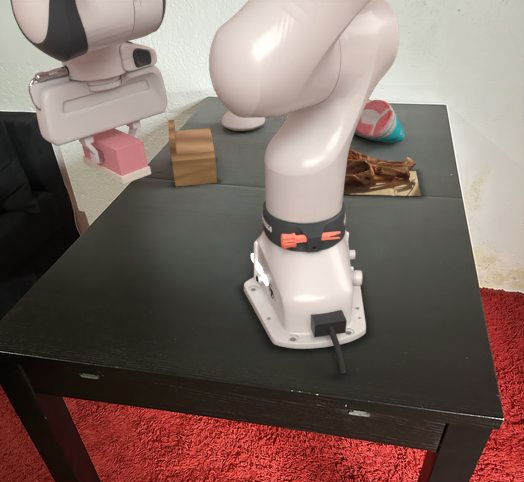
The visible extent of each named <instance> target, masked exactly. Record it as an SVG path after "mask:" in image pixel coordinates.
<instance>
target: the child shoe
mask: <svg viewBox="0 0 524 482" xmlns="http://www.w3.org/2000/svg"><path fill="white" fill-rule="evenodd" d="M93 140H94V142H93V143H91V144H92V146H93V147H94V148H95V149H96V148H97V149H99V150H101V151H103V154H104V158H105V162H102V163H100V164H97V165H96V164H95V163H93V162H92V160H91V156H90V153H89V151H88V150H87V149H86V148H85V147H84V146H83V145H82V144H81V148H82V151H83V156H82V159H83V163H84V164H85V165H87V166H88V167H90V168H92V169H94V170H96V171H97V172H99V173H101V174H103V175H105V176H106V177H109V178H110V179H112V180H114V181H116V182H118V183H120V184H122V185H126V184H129V183H131V182H134V181H136V180H137V181H138V180H139V179H142V178H144V177H147V176H149V175H152V171H151V166H150V165H148V160H147V156H146V155H147V154H146V149H145V144H144V141H143V140H142V139H140V138H139V137H138V138H135V137H133V136H131V135H128V133H126V132H125V131H124V132H123V131H121V130H119V129H118V128H114V129H111V130H107V131H104V132H101V133H98V134H95V135H93Z"/></svg>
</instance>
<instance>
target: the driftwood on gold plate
mask: <svg viewBox="0 0 524 482" xmlns="http://www.w3.org/2000/svg"><path fill="white" fill-rule="evenodd" d="M415 166H417V163H416V162H415V160H414V159H413V158H410V157H409V156H406V161H404V160H401V161H399V160H394V161H393V160H383V159H379V158H375V157H371V156H369V155H366V154H362V152H359V151H356V150H354V149H352V148H350V149H349V153H348V158H347V165H346V174H345V182H344V192H343V195H356V196H357V195H359V196H360V195H361V196H363V195H367V196H369V195H370V196H392V197H395V196H399V197H400V196H401V197H405V196H406V197H407V196H408V197H421V196H422V193H421V189H420V187H419V179H418V174H417V171H416V170H412V169H413V168H414V167H415Z"/></svg>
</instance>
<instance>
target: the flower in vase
mask: <svg viewBox="0 0 524 482" xmlns="http://www.w3.org/2000/svg"><path fill="white" fill-rule="evenodd" d="M265 122H266V117H254V118H242V117H238V116H236V115H234V114H233V113H232V112H230V111H229V110H228V109H227V111H226V112H225V113H224V114H223V116H222V118H221V121H220V123H221V125H222V126H223V127H224V128H226V129H228V130H231V131H235V132H249V131H254V130H257V129H258V128H260V127H262V126H264V124H265Z"/></svg>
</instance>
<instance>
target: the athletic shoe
mask: <svg viewBox="0 0 524 482" xmlns="http://www.w3.org/2000/svg"><path fill="white" fill-rule="evenodd" d="M405 134H406V133H405V130H404V128H403V126H402V123H401V121H400V119H399V118H398V116H397V114H396V112H395V110H394V108H393V107H392V105H391V104H390V103H389V102H388V101H385V100H381V99H373V100H372V99H370V98H369V99H368V101H367V104H366V106H365V108H364V110H363V112H362V115H361V117H360V120H359V122H358V125H357V127H356V130H355V133H354V136H357V137H358V136H359V137H360V138H364V139H366V140H368V141H369V140H370V141H374V142H381V143H391V144H393V143H394V144H396V143H400V142H402V141H403V140H404V139H405V136H406V135H405Z"/></svg>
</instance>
